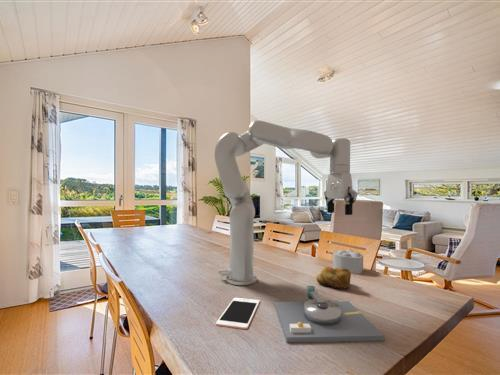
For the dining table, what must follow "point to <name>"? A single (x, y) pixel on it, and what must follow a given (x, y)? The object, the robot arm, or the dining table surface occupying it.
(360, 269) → the lumpy-topped squat cylinder
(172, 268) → the dining table surface
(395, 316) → the dining table surface
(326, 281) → the brown irregular lump
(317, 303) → the dial
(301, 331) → the stand
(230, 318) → the cell phone
